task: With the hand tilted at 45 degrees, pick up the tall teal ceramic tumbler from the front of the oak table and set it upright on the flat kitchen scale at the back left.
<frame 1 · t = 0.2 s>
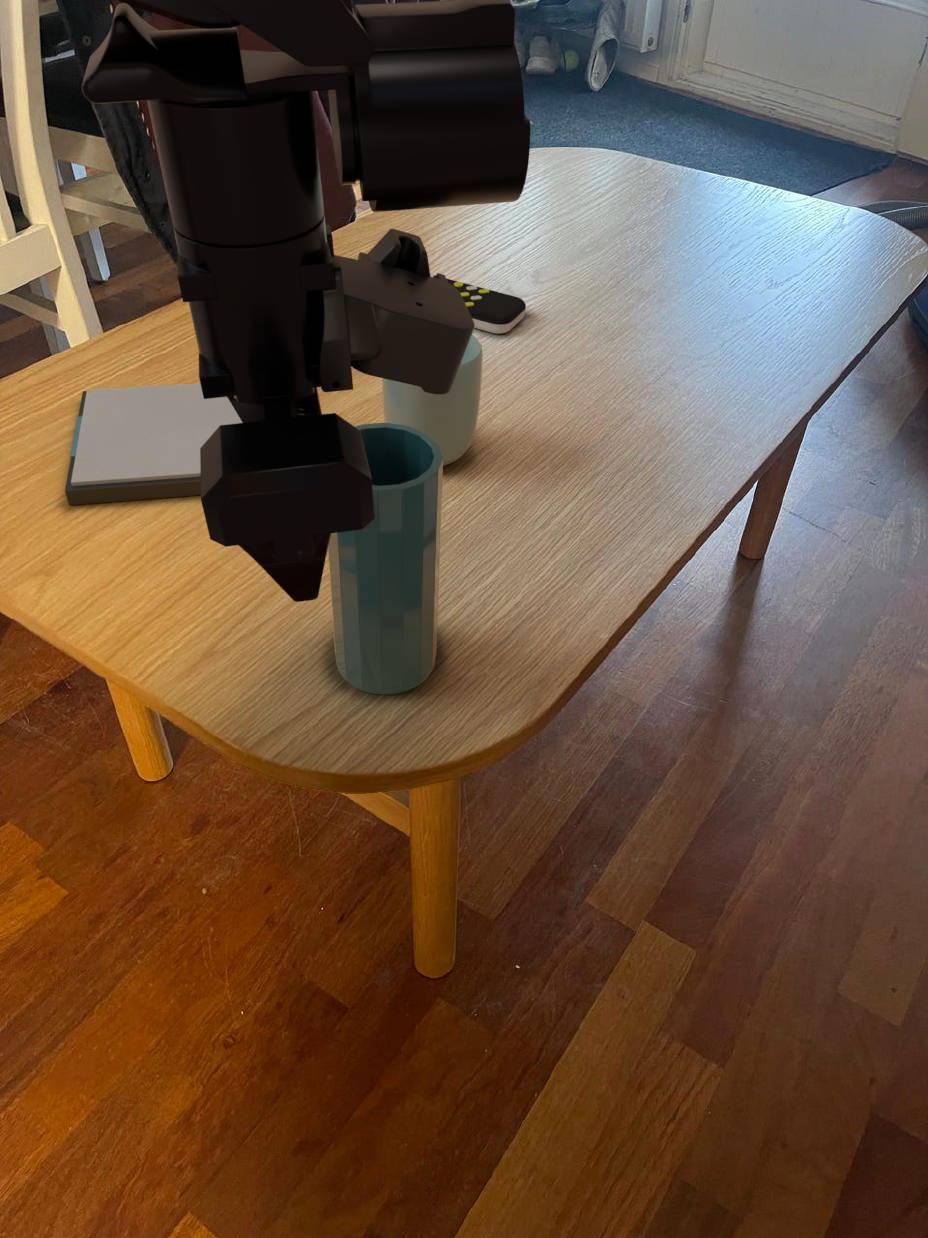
hand: (297, 536, 47), 16 cm above the table, tool pointing down, fingers open, 9 cm apart
scale: (171, 445, 80), on the table
tumbler: (385, 657, 63), on the table
remote control: (463, 313, 100), on the table
cup: (430, 455, 81), on the table
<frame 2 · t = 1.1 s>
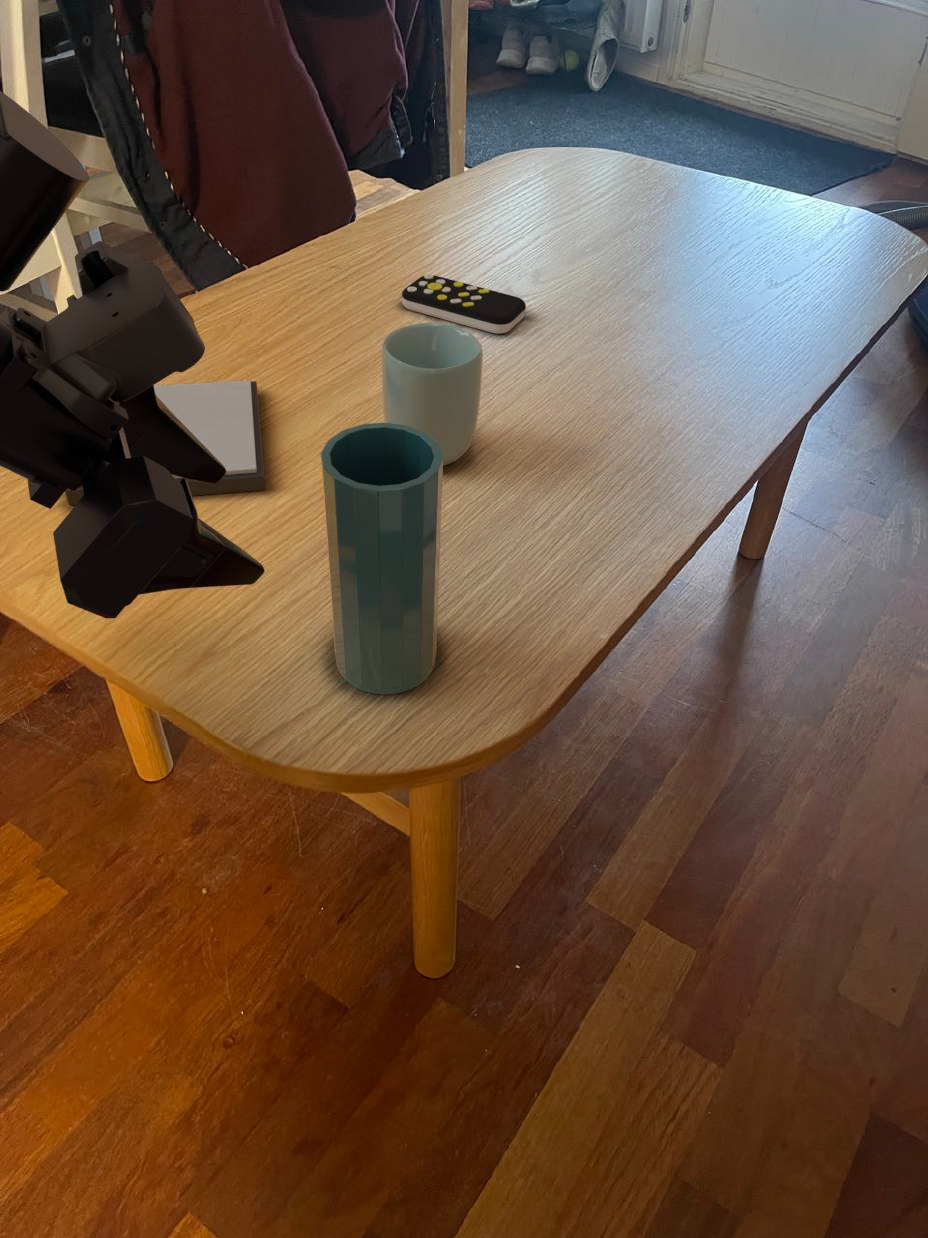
hand: (239, 523, 51), 13 cm above the table, tool tilted 45°, fingers open, 9 cm apart
nothing on the table moved.
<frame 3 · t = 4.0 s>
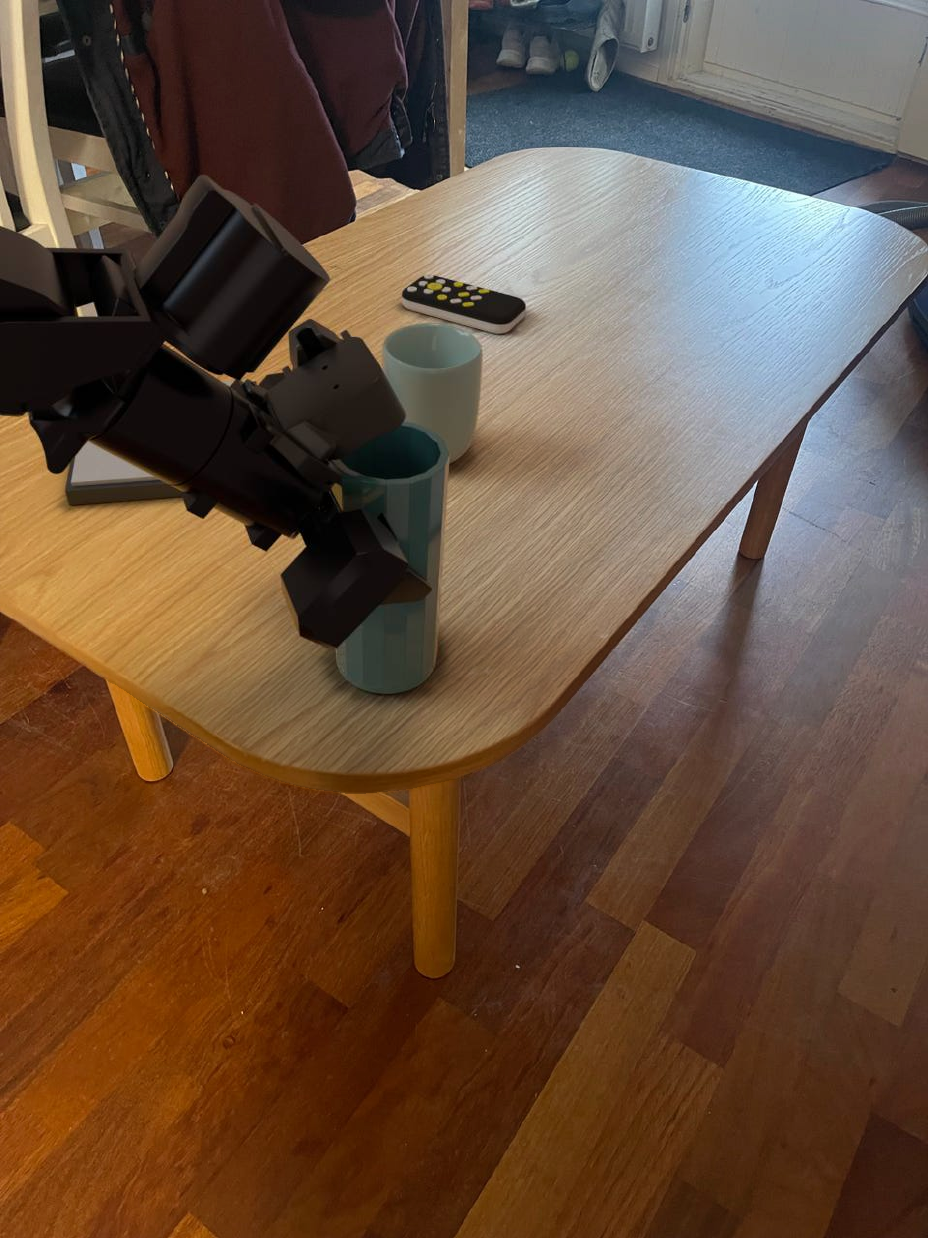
hand: (406, 557, 58), 8 cm above the table, tool tilted 45°, fingers closed on tumbler, 7 cm apart
tumbler: (386, 657, 63), on the table, touching gripper
everything else where it was.
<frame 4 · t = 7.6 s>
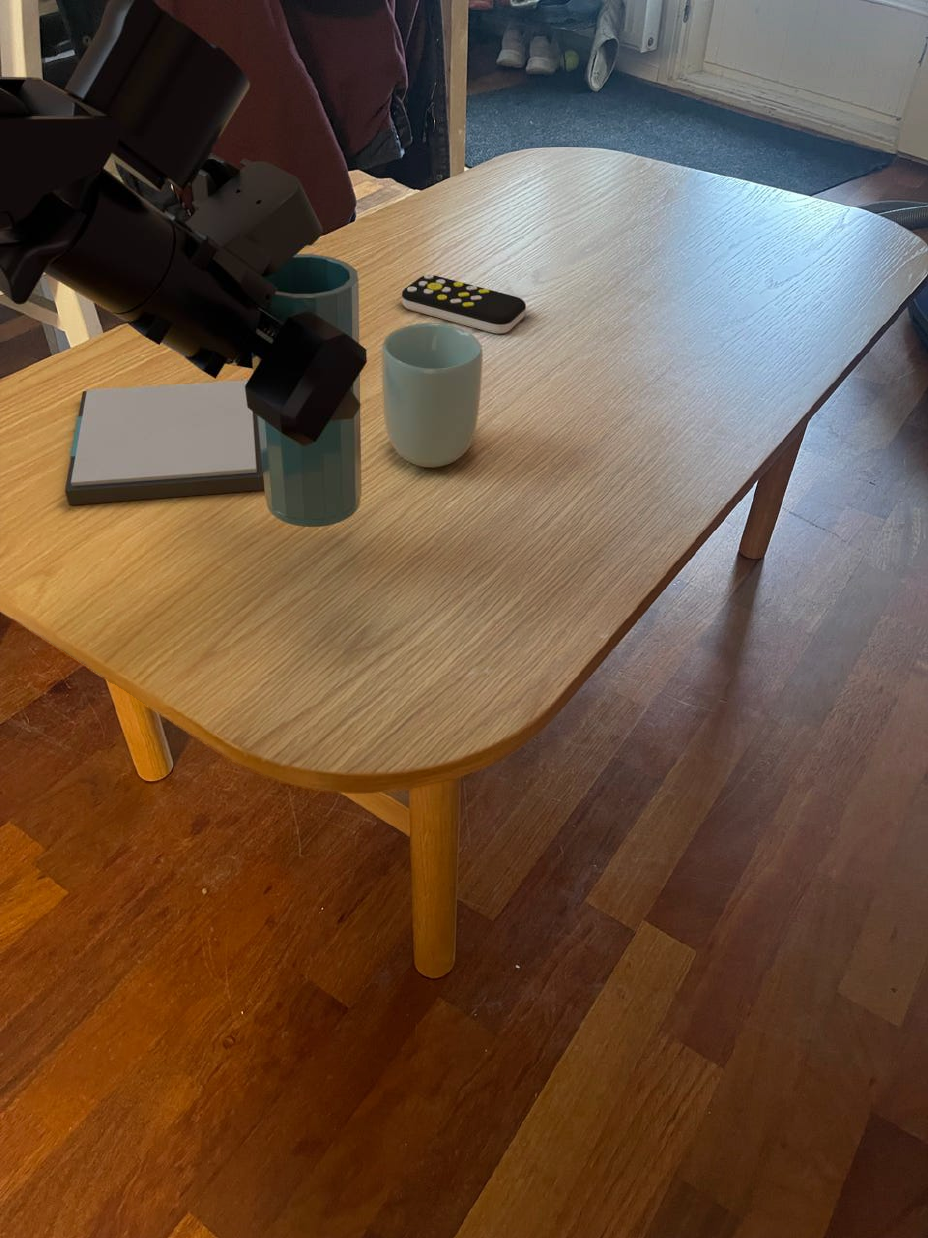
hand: (323, 388, 62), 13 cm above the table, tool tilted 45°, fingers closed on tumbler, 7 cm apart
tumbler: (313, 499, 66), point 5 cm above the table, touching gripper
everything else where it was.
when the fingers open (10 cm above the table, at t = 11.7 s): tumbler stays where it is, resting on scale.
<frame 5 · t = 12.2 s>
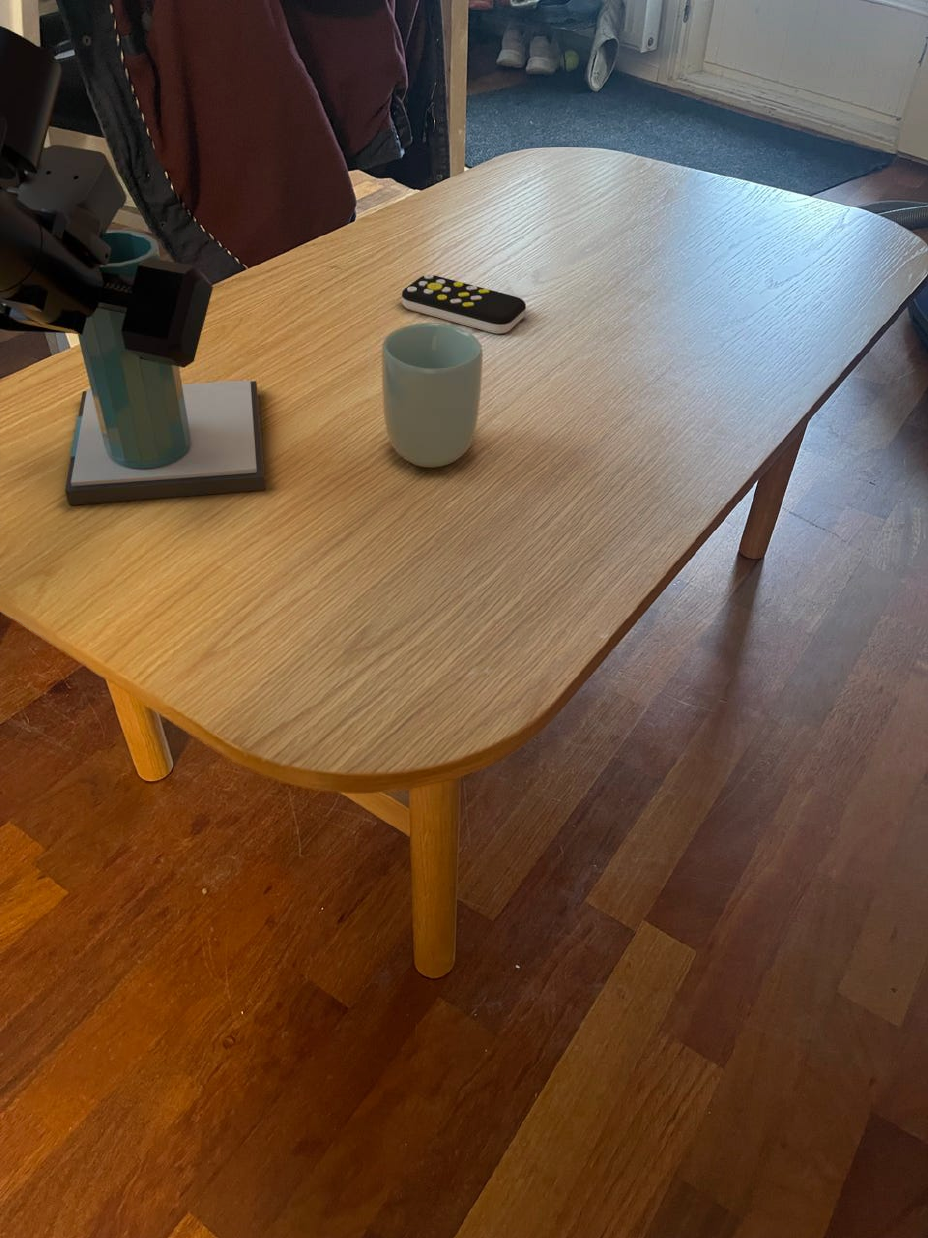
hand: (137, 337, 71), 11 cm above the table, tool tilted 45°, fingers open, 9 cm apart
tumbler: (149, 445, 76), point 2 cm above the table, touching scale
everything else where it was.
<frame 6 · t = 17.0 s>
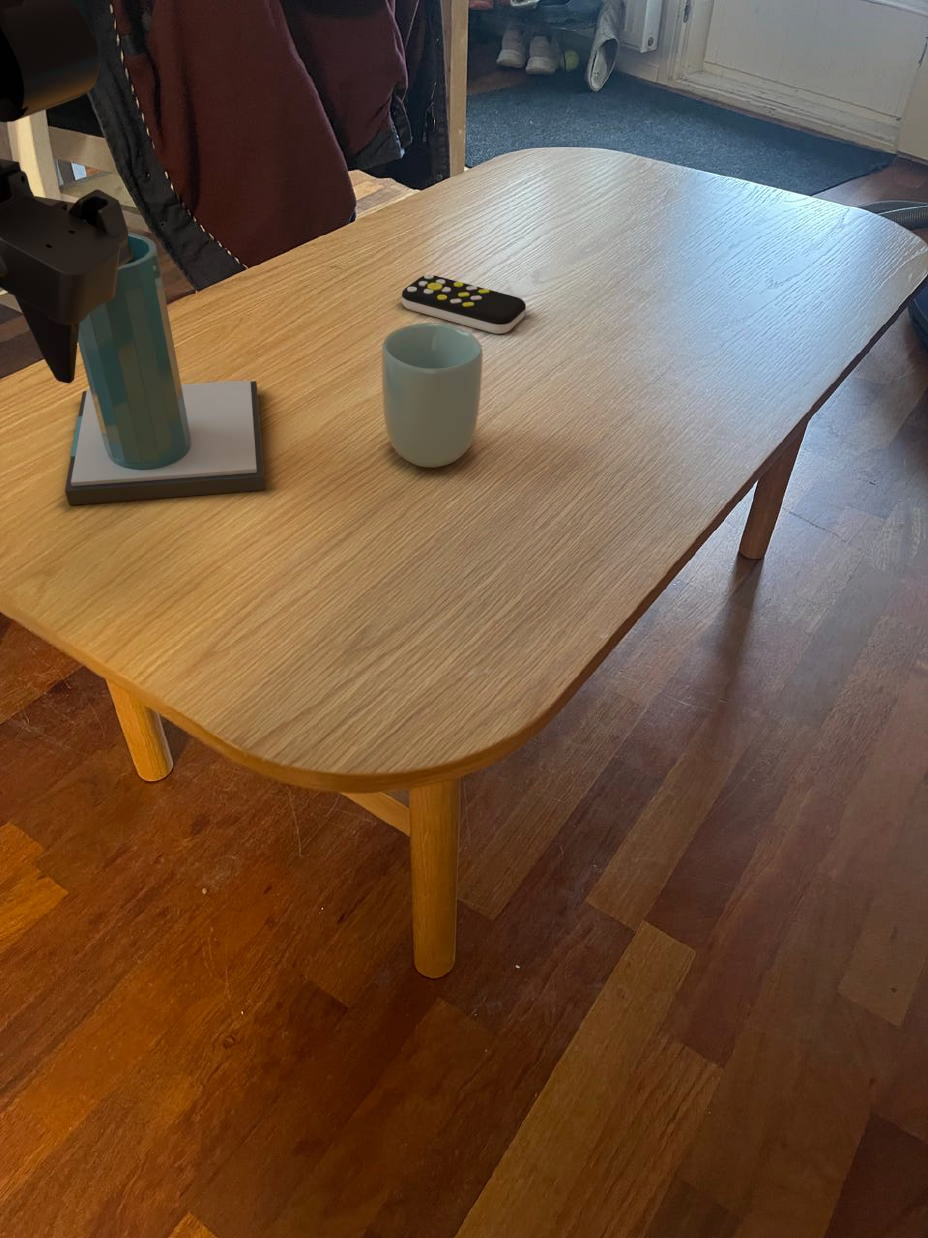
hand: (21, 416, 58), 13 cm above the table, tool pointing down, fingers open, 9 cm apart
nothing on the table moved.
at the end: tumbler inside the target area on the scale (3.1 cm from its centre), point 1.8 cm above the scale's base; tumbler tilted 0° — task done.
